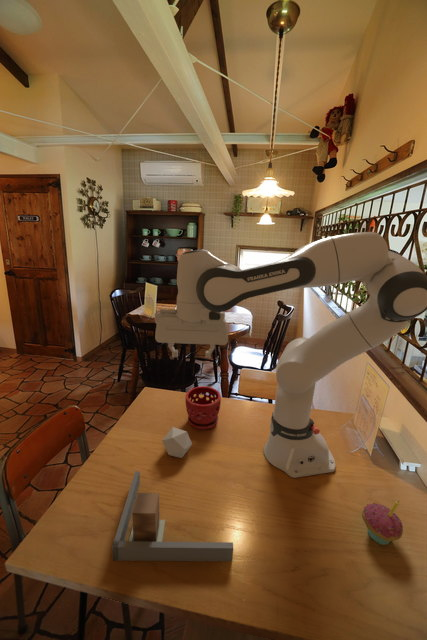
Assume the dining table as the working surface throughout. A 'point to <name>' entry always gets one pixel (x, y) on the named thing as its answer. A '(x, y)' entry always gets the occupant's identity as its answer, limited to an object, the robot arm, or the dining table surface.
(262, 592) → the dining table surface
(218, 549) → the grey l-shaped bracket
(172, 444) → the die
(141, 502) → the walnut block
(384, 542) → the cupcake
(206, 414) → the plant pot
